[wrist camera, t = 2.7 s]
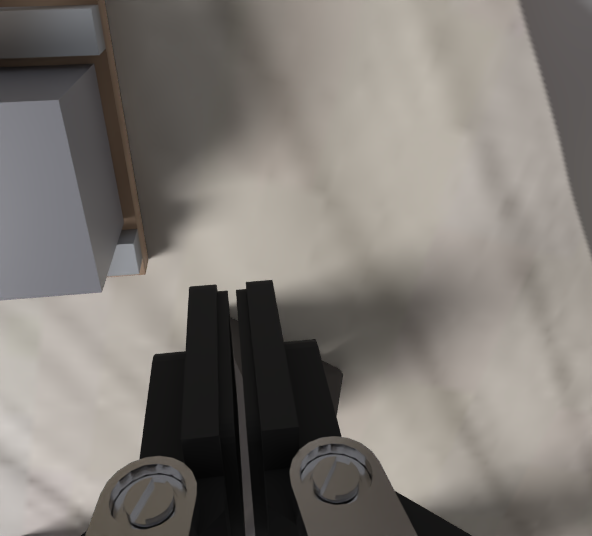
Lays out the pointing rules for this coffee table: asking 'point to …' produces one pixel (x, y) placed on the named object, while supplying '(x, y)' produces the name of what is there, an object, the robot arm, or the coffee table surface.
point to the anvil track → (98, 50)
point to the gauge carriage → (55, 183)
